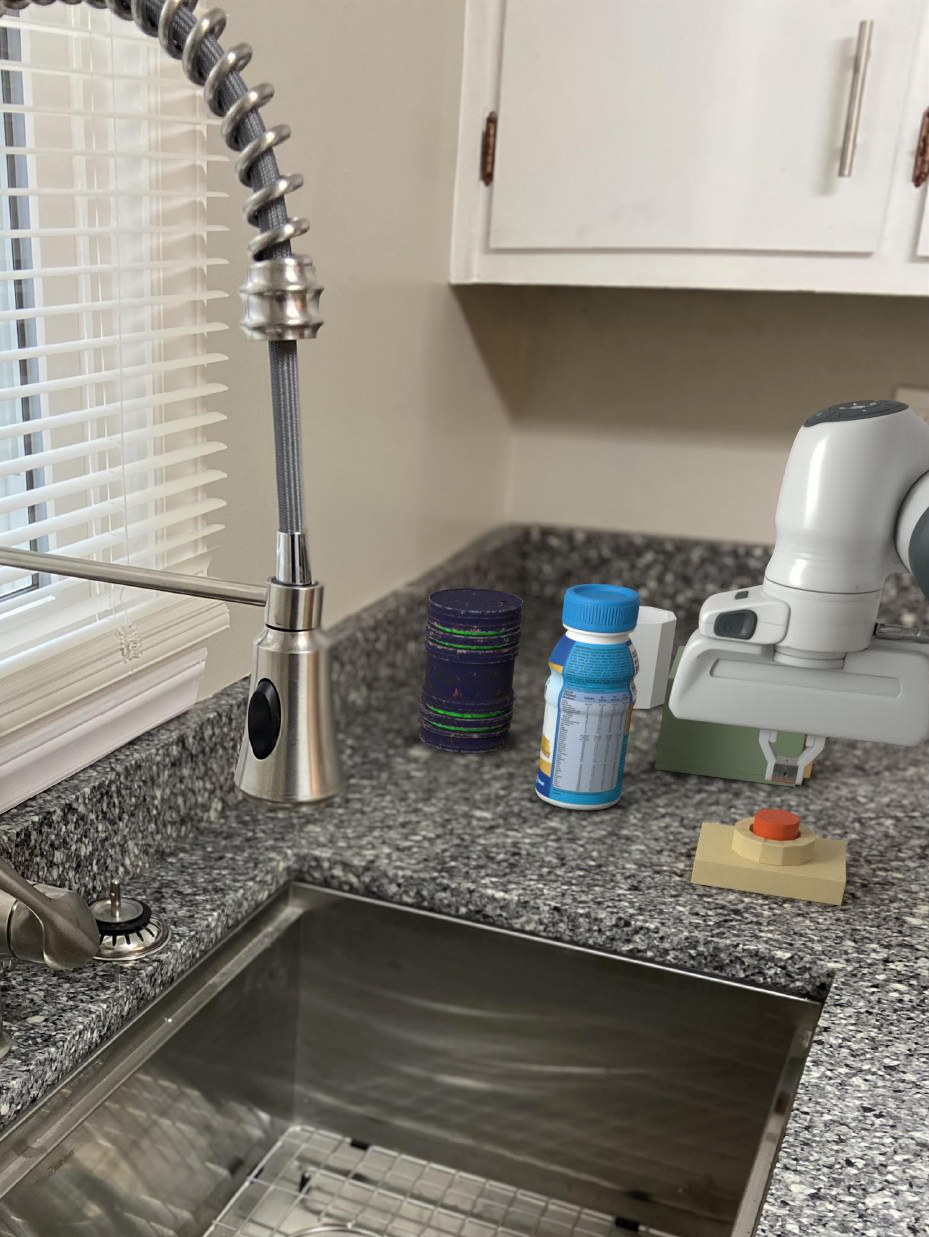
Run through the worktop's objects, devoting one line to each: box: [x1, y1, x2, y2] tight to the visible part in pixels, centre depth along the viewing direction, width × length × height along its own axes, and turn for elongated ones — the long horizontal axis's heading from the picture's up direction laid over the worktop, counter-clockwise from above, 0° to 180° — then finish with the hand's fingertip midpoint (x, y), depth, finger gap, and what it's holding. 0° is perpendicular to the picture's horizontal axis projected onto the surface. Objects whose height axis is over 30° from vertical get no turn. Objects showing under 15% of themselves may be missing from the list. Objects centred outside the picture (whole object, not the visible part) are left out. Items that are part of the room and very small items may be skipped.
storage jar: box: [418, 587, 524, 754], centre depth 153 cm, size 10×10×15 cm
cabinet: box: [653, 645, 806, 788], centre depth 149 cm, size 14×13×10 cm
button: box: [752, 808, 801, 841], centre depth 123 cm, size 4×4×2 cm
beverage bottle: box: [534, 583, 641, 811], centre depth 136 cm, size 8×8×20 cm
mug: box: [628, 605, 678, 710], centre depth 167 cm, size 12×9×10 cm
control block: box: [690, 816, 847, 906], centre depth 124 cm, size 12×9×4 cm
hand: (783, 780), depth 121 cm, fingers closed
